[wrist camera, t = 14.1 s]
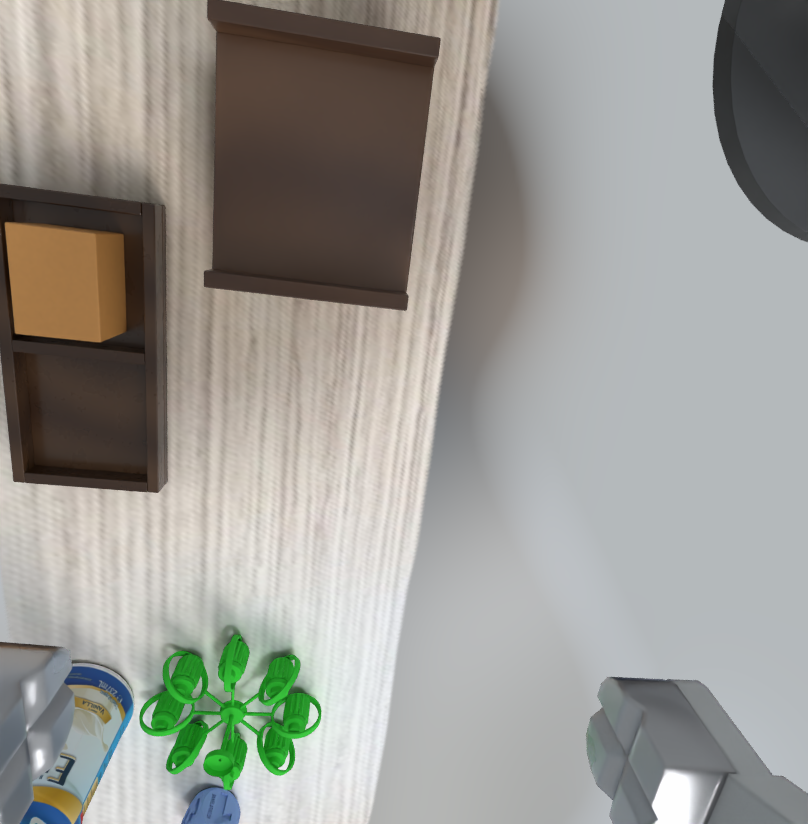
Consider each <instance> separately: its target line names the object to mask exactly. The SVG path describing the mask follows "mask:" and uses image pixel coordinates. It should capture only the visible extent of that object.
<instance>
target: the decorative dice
mask: <svg viewBox="0 0 808 824" xmlns="http://www.w3.org/2000/svg"><path fill="white" fill-rule="evenodd" d="M239 819H240V807H239V804H238V802H237V800H236V798H235V797H234V796H233V794H232V793H231V792H229V791H228V790H224V789H223V788H217V787H213V788H207V789H205V790H203V791H201V792H199V793H198V794H197V795H196V796H195V798H194V799H193V801H192V802H191V804H190V806H189V808H188V809H187V811H186V813H185V816H184V818H183V820H182V823H181V824H238V823H239Z"/></svg>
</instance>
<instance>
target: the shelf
mask: <svg viewBox="0 0 808 824" xmlns="http://www.w3.org/2000/svg"><path fill="white" fill-rule="evenodd" d="M5 222H17V223H41V224H51V225H59V226H67V227H75V228H83V229H91V230H99V231H107V232H115V233H122V234H123V235H124V262H125V294H126V325H127V331H126V332H125V333H122V334H120V335H117V336H115V337H112V338H110V339H107V340H105V341H102V342H91V341H81V340H71V339H62V338H52V337H42V336H32V335H23V334H16V333H15V327H14V317H13V306H12V296H11V285H10V274H9V264H8V253H7V243H6V232H5ZM0 353H1V363H2V373H3V383H4V392H5V402H6V412H7V422H8V432H9V441H10V451H11V461H12V471H13V481H14V482H23V483H24V482H26V483H35V484H48V485H61V486H74V487H87V488H100V489H113V490H126V491H139V492H147V491H148V492H153V493H158V492H159V491H160V490H161V489H162V487H163V486H164V485H165V484H166V483H167V481H168V473H167V346H166V219H165V206H164V205H158V204H151V203H143V202H136V201H128V200H121V199H113V198H105V197H98V196H90V195H83V194H75V193H68V192H60V191H52V190H45V189H37V188H30V187H22V186H15V185H7V184H0Z"/></svg>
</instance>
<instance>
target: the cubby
mask: <svg viewBox="0 0 808 824" xmlns="http://www.w3.org/2000/svg"><path fill="white" fill-rule="evenodd" d="M207 18H208V20H209V22H210V23H211V24H212V26H213V27H214V29H215V30H216V89H215V147H214V205H213V263H212V269H210V270H206V271H204V287H208V288H216V289H225V290H233V291H242V292H250V293H259V294H267V295H276V296H284V297H293V298H301V299H310V300H318V301H327V302H335V303H344V304H352V305H361V306H369V307H378V308H387V309H395V310H404V311H406V310H407V304H408V294H407V293H406V291H407V283H408V275H409V267H410V259H411V251H412V243H413V235H414V226H415V218H416V210H417V202H418V194H419V186H420V178H421V170H422V162H423V154H424V146H425V138H426V129H427V121H428V113H429V105H430V97H431V89H432V81H433V73H434V66H435V64H436V61H437V59H438V57H439V49H440V41H441V40H440V38H438V37H432V36H426V35H420V34H415V33H409V32H403V31H397V30H392V29H386V28H380V27H374V26H368V25H363V24H357V23H351V22H345V21H339V20H334V19H328V18H322V17H316V16H311V15H305V14H299V13H293V12H287V11H282V10H276V9H270V8H264V7H259V6H253V5H247V4H241V3H235V2H230V1H224V0H208V2H207Z"/></svg>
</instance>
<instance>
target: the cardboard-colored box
mask: <svg viewBox="0 0 808 824" xmlns="http://www.w3.org/2000/svg"><path fill="white" fill-rule="evenodd" d="M5 232H6V243H7V253H8V264H9V274H10V285H11V296H12V306H13V317H14V327H15V333H16V334H23V335H32V336H42V337H52V338H62V339H71V340H81V341H91V342H102V341H105V340H107V339H110V338H112V337H115V336H117V335H120V334H122V333H125V332H126V331H127V325H126V294H125V262H124V235H123V234H122V233H115V232H107V231H99V230H91V229H83V228H75V227H67V226H59V225H51V224H41V223H17V222H5Z"/></svg>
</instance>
